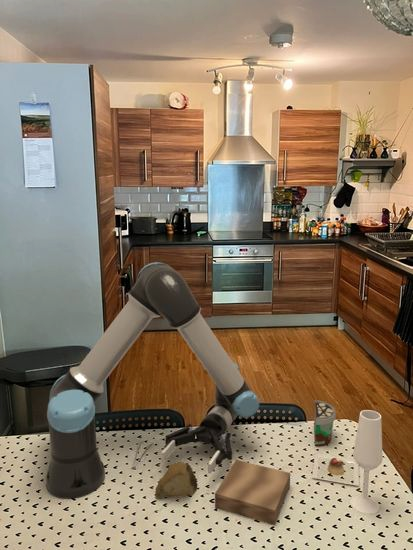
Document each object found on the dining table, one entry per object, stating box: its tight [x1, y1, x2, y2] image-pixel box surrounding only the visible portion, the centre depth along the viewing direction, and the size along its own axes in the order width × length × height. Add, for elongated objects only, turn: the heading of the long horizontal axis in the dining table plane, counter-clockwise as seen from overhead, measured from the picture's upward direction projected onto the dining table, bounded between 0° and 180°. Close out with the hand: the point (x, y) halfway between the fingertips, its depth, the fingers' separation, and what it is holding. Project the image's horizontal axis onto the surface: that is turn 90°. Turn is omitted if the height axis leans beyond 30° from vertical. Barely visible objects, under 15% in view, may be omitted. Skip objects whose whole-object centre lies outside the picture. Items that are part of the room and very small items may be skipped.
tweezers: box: [130, 440, 155, 471], centre depth 133 cm, size 17×5×2 cm, turn 171°
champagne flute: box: [349, 409, 384, 515], centre depth 111 cm, size 7×7×24 cm
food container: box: [313, 399, 337, 447], centre depth 141 cm, size 12×6×10 cm, turn 168°
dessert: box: [311, 452, 360, 487], centre depth 127 cm, size 12×12×5 cm
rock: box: [155, 461, 198, 499], centre depth 118 cm, size 11×9×10 cm
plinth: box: [214, 459, 291, 526], centre depth 116 cm, size 15×15×4 cm
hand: (185, 462), depth 121 cm, fingers open, 13 cm apart
